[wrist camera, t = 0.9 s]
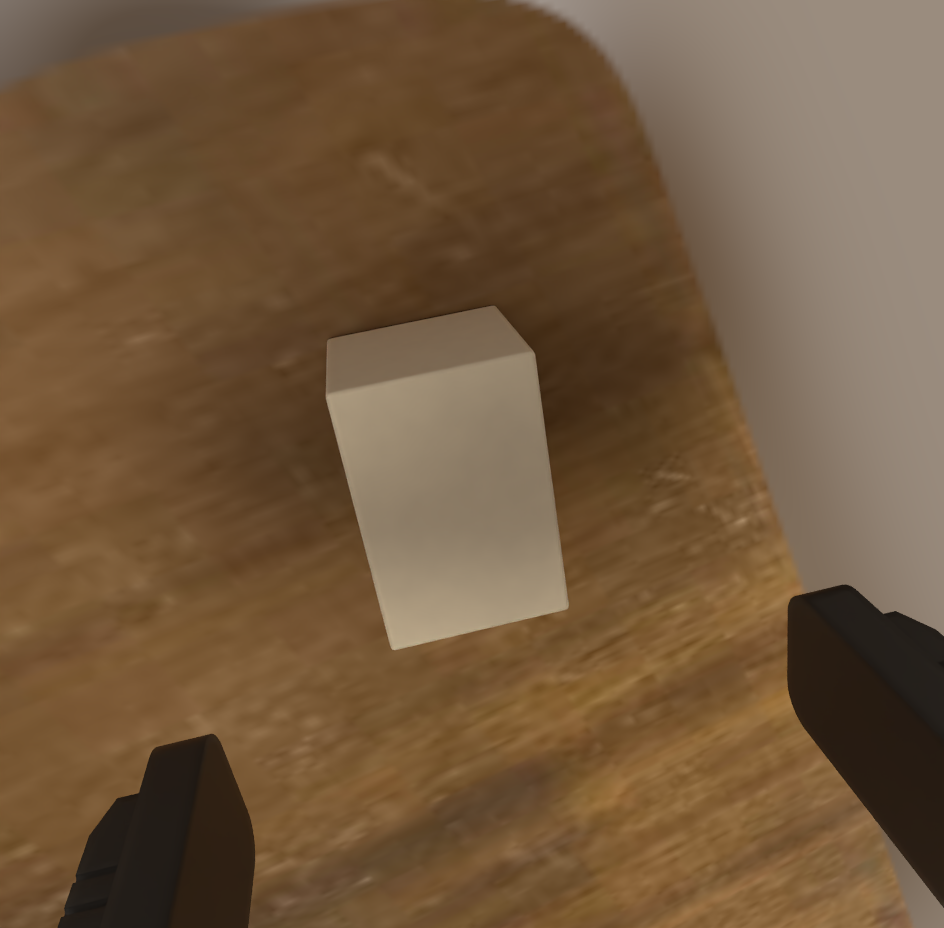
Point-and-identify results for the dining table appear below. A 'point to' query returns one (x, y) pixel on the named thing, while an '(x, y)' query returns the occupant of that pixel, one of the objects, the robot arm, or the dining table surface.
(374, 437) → the tea packet
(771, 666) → the dining table surface
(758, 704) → the dining table surface
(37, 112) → the dining table surface
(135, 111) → the dining table surface
